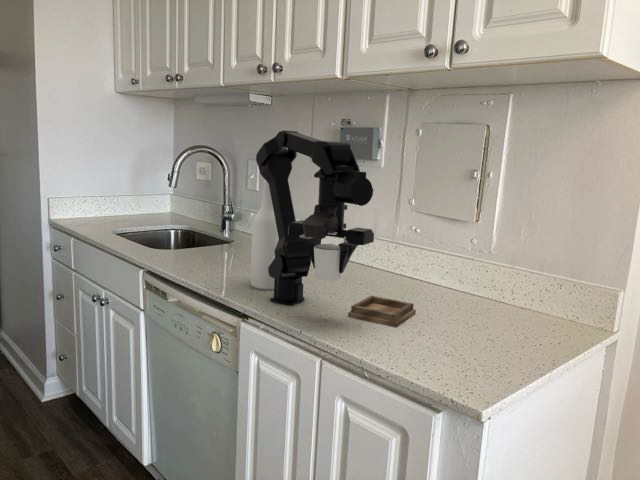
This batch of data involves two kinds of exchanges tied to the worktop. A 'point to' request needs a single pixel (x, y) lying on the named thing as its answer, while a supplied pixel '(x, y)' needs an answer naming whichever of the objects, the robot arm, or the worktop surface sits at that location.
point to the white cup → (327, 262)
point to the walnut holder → (382, 311)
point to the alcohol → (263, 243)
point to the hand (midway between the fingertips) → (328, 270)
